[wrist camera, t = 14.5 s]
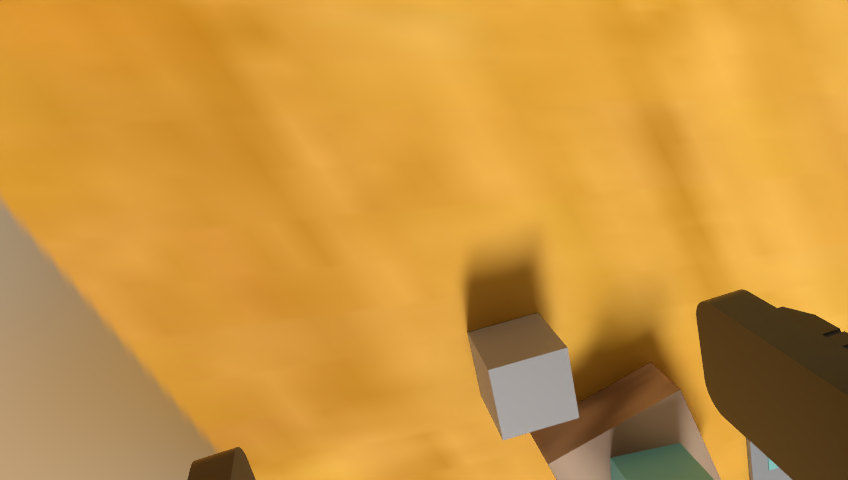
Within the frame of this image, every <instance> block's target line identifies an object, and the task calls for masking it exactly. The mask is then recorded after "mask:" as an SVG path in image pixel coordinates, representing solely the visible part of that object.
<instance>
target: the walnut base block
mask: <svg viewBox="0 0 848 480" xmlns="http://www.w3.org/2000/svg"><path fill="white" fill-rule="evenodd" d="M577 407H578V413H579V418H577V419H574V420H570V421H567V422H564V423H560V424H557V425H553V426H550V427H547V428H543V429H540V430H536V431H533V432H530V433H531V435H532V437H533V439H534V441H535V442H536V444H537V446H538V448H539V449H540V451H541V453H542V455H543V457H544V458H545V460H546V462H547V464H548V466H549V467H550V469H551V471H552V473H553V475H554V476H555V478H556V480H611V465H610V458H611V457H616V456H621V455H625V454H630V453H635V452H639V451H644V450H649V449H653V448H658V447H663V446H667V445H672V444H677V443H681V444H682V446H683V447H684V448H685V449H686V450H687V451H688V452H689V453H690V454H691V455H692V456H693V457H694V458H695V459H696V461H697V462H698V463H699V464H700V465H701V466H702V467H703V468H704V469H705V470H706V471H707V472H708V473H709V474H710V476H711V477H712V478H713V479H714V480H721V479H720V477H719V475H718V472H717V470H716V468H715V466H714V463H713V461H712V459H711V457H710V455H709V452H708V450H707V448H706V446H705V443H704V441H703V439H702V437H701V434H700V432H699V430H698V428H697V426H696V423H695V421H694V419H693V417H692V414H691V412H690V410H689V408H688V406H687V403H686V401H685V399H684V397H683V394H682V392H681V390H680V389H679V388H678V387H677V386H676V385H675V384H674V383H673V382H672V381H671V380H670V379H669V378H668V377H666V376H665V375H664V374H663V373H662V372H661V371H660V370H659V369H658V368H657V367H656V366H655V365H654V364H653V363H652V362H650V363H648V364H646V365H645V366H643V367H641V368H639V369H638V370H636V371H634V372H632V373H631V374H629V375H627V376H625V377H623V378H622V379H620V380H618V381H616V382H615V383H613V384H611V385H609V386H607V387H606V388H604V389H602V390H600V391H599V392H597V393H595V394H593V395H592V396H590V397H588V398H586V399H584V400H583V401H581V402H579V403H577Z"/></svg>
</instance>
